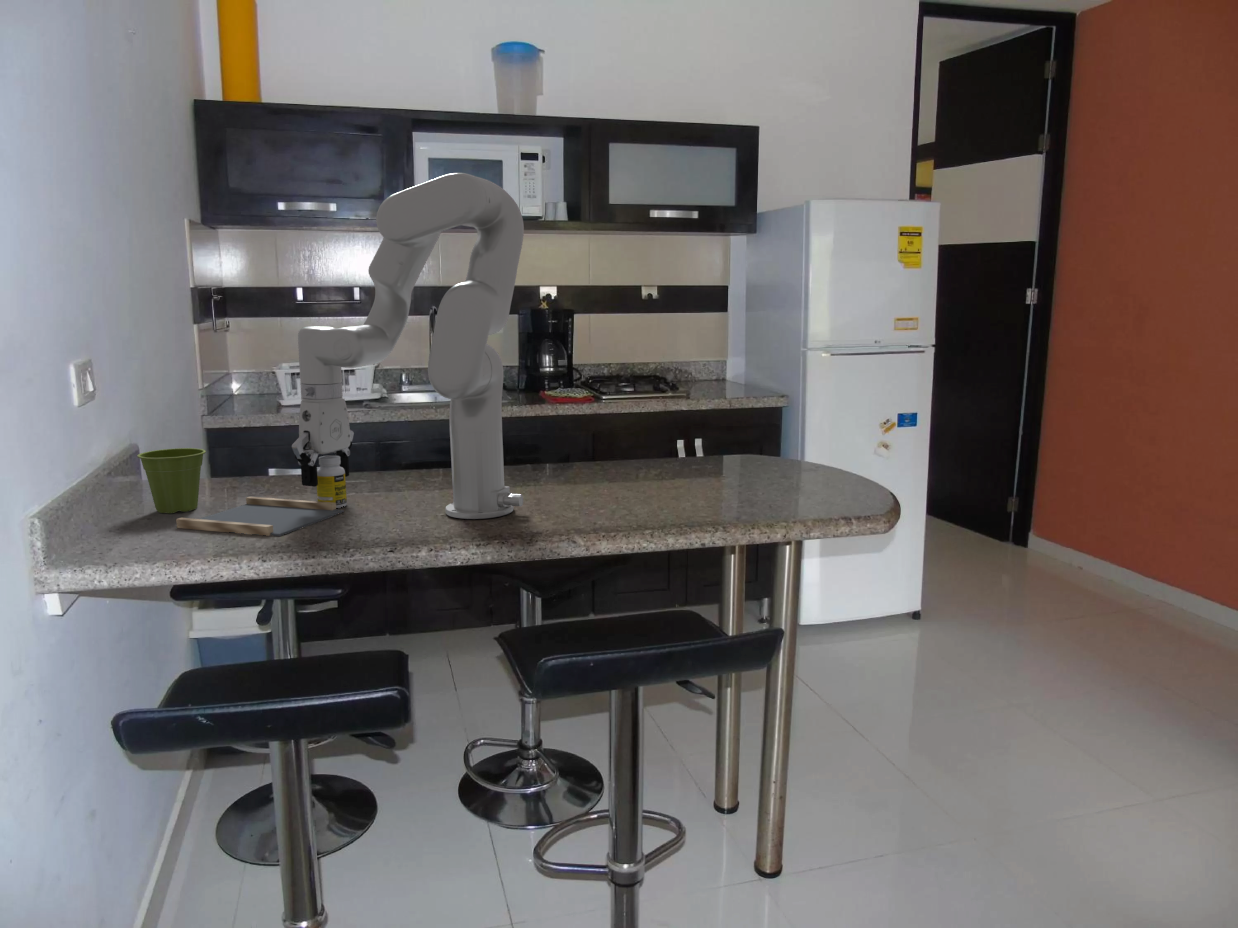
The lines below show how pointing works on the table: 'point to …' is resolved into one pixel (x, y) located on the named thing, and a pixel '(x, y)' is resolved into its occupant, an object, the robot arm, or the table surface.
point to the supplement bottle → (331, 481)
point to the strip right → (291, 503)
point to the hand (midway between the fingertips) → (326, 480)
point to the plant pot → (173, 477)
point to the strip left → (224, 526)
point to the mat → (274, 516)
